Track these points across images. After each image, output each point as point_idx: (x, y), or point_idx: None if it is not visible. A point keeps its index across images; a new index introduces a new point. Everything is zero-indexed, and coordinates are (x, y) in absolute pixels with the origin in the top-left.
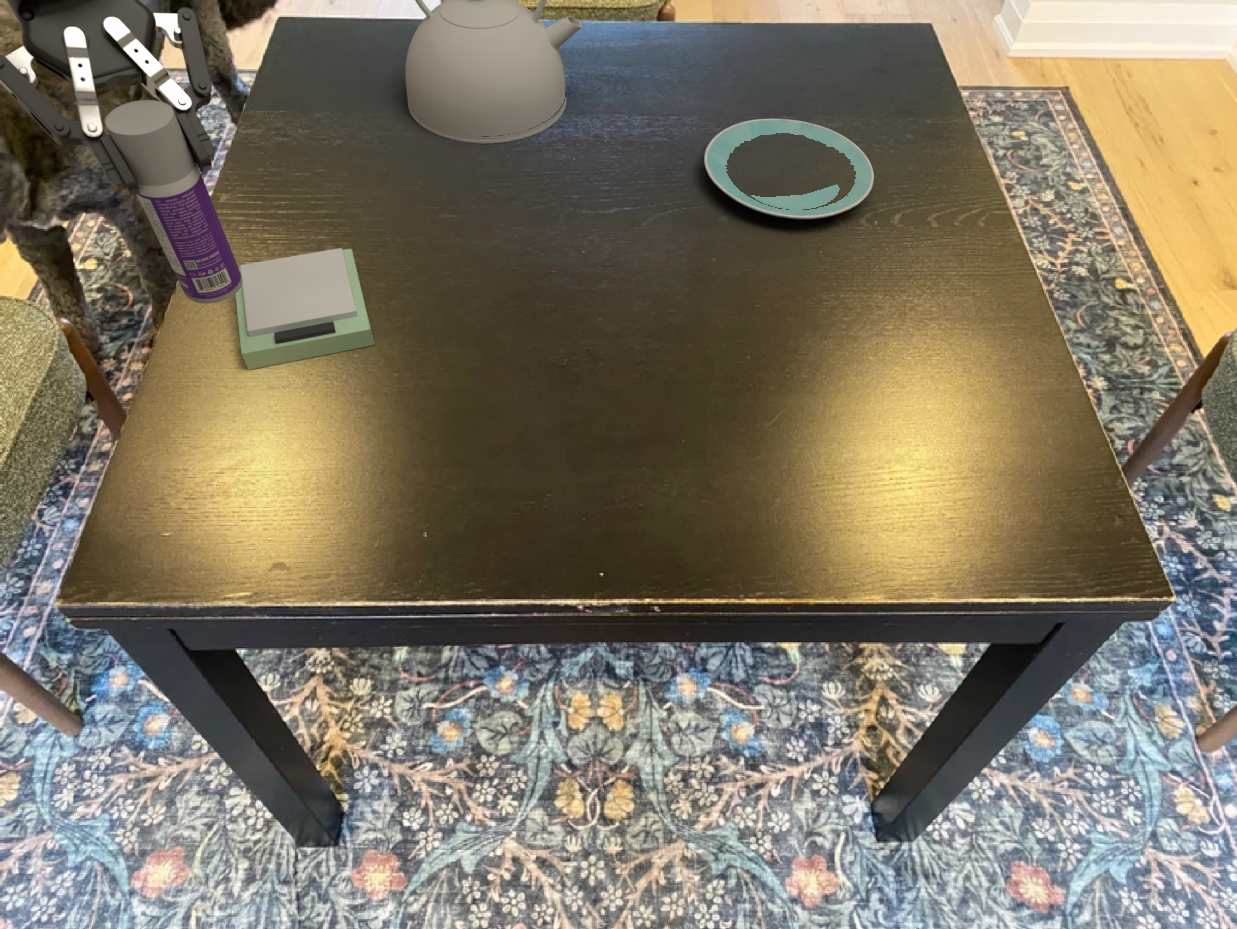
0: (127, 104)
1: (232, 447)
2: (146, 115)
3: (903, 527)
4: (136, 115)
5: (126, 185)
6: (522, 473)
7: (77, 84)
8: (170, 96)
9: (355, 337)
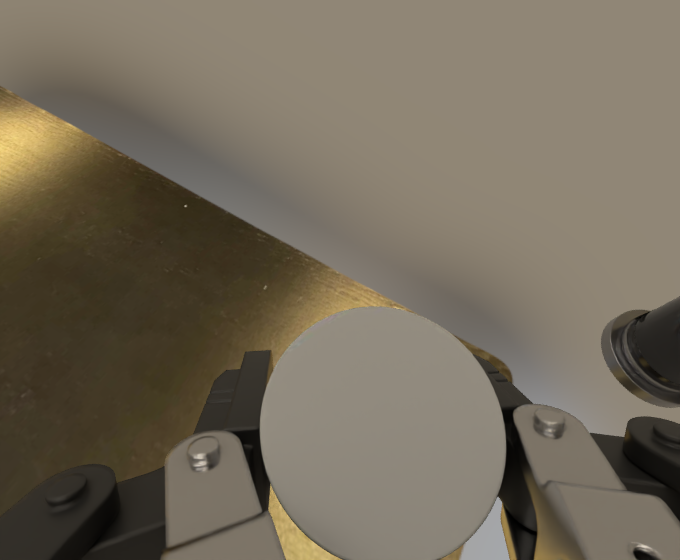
0: (412, 550)
1: None
2: (358, 414)
3: (5, 141)
4: (392, 429)
5: None
6: (167, 297)
7: (667, 530)
8: (234, 474)
9: None
